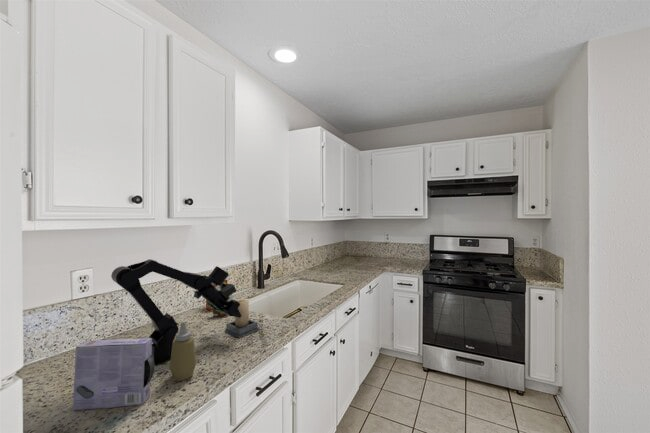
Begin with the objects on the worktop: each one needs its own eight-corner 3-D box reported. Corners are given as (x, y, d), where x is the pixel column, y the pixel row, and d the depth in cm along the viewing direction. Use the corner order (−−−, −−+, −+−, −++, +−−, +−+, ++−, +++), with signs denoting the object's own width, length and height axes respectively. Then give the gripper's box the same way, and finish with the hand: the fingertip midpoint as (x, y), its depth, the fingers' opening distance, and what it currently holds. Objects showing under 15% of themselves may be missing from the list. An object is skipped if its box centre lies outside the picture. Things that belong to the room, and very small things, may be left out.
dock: (239, 338, 122) (239, 330, 122) (224, 331, 129) (224, 323, 129) (259, 329, 131) (259, 322, 130) (244, 324, 137) (244, 317, 137)
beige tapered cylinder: (244, 332, 126) (244, 303, 126) (232, 330, 127) (232, 302, 127) (251, 326, 132) (251, 299, 131) (239, 325, 133) (239, 298, 133)
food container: (217, 320, 142) (217, 300, 142) (210, 317, 146) (210, 298, 146) (237, 313, 152) (237, 295, 152) (231, 310, 156) (231, 292, 156)
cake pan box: (155, 393, 84) (155, 335, 84) (147, 405, 79) (147, 343, 79) (84, 400, 81) (83, 339, 81) (71, 412, 76) (71, 348, 76)
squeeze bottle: (178, 386, 88) (178, 329, 88) (164, 378, 92) (164, 324, 92) (201, 373, 95) (201, 321, 95) (187, 366, 99) (187, 316, 99)
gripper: (236, 282, 117) (258, 303, 125) (214, 275, 129) (235, 294, 137) (218, 306, 111) (242, 325, 119) (197, 296, 123) (220, 315, 131)
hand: (235, 314), depth 127 cm, fingers open, 9 cm apart
